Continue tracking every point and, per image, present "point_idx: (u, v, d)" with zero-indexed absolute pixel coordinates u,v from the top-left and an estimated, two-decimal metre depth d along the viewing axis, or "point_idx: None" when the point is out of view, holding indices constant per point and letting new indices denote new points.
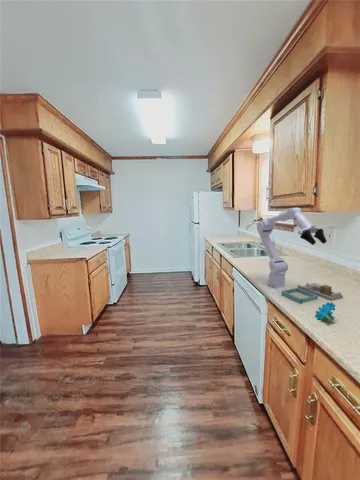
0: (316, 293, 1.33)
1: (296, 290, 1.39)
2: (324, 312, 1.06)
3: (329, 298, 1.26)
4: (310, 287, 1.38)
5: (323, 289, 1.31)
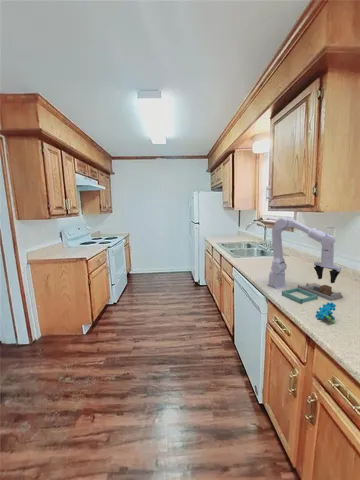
0: (316, 293, 1.33)
1: (296, 290, 1.39)
2: (324, 312, 1.06)
3: (329, 298, 1.26)
4: (310, 287, 1.38)
5: (323, 289, 1.31)
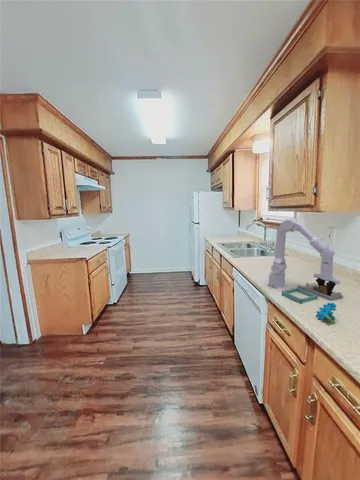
0: (316, 293, 1.33)
1: (296, 290, 1.39)
2: (325, 312, 1.06)
3: (329, 298, 1.26)
4: (310, 287, 1.38)
5: (323, 289, 1.31)
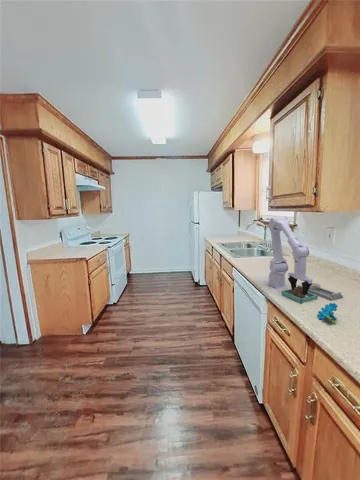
0: (316, 293, 1.33)
1: None
2: (326, 312, 1.06)
3: (329, 298, 1.26)
4: (310, 287, 1.38)
5: (297, 291, 1.30)
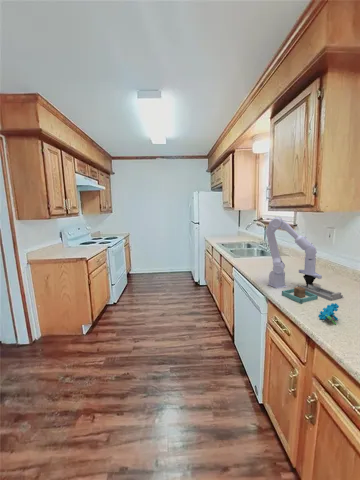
0: (316, 293, 1.33)
1: None
2: (327, 312, 1.06)
3: (329, 298, 1.26)
4: (310, 287, 1.38)
5: (297, 291, 1.30)
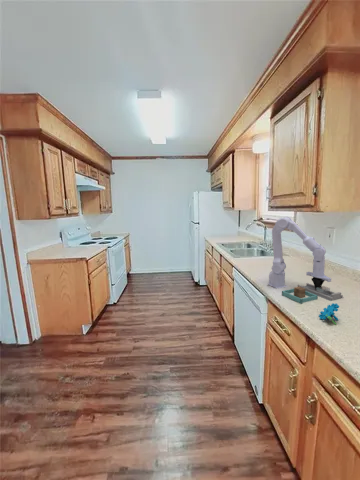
0: (316, 293, 1.33)
1: None
2: (327, 313, 1.06)
3: (329, 298, 1.26)
4: (319, 290, 1.33)
5: (297, 291, 1.30)
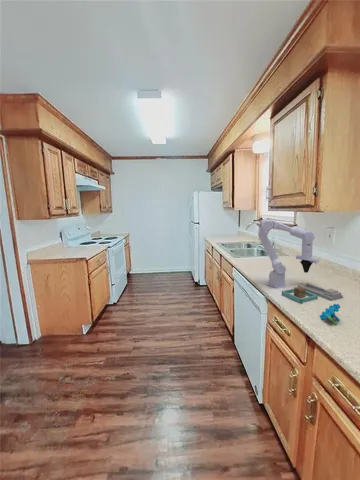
0: (316, 293, 1.33)
1: None
2: (328, 313, 1.05)
3: (329, 298, 1.26)
4: (327, 293, 1.28)
5: (297, 291, 1.30)
